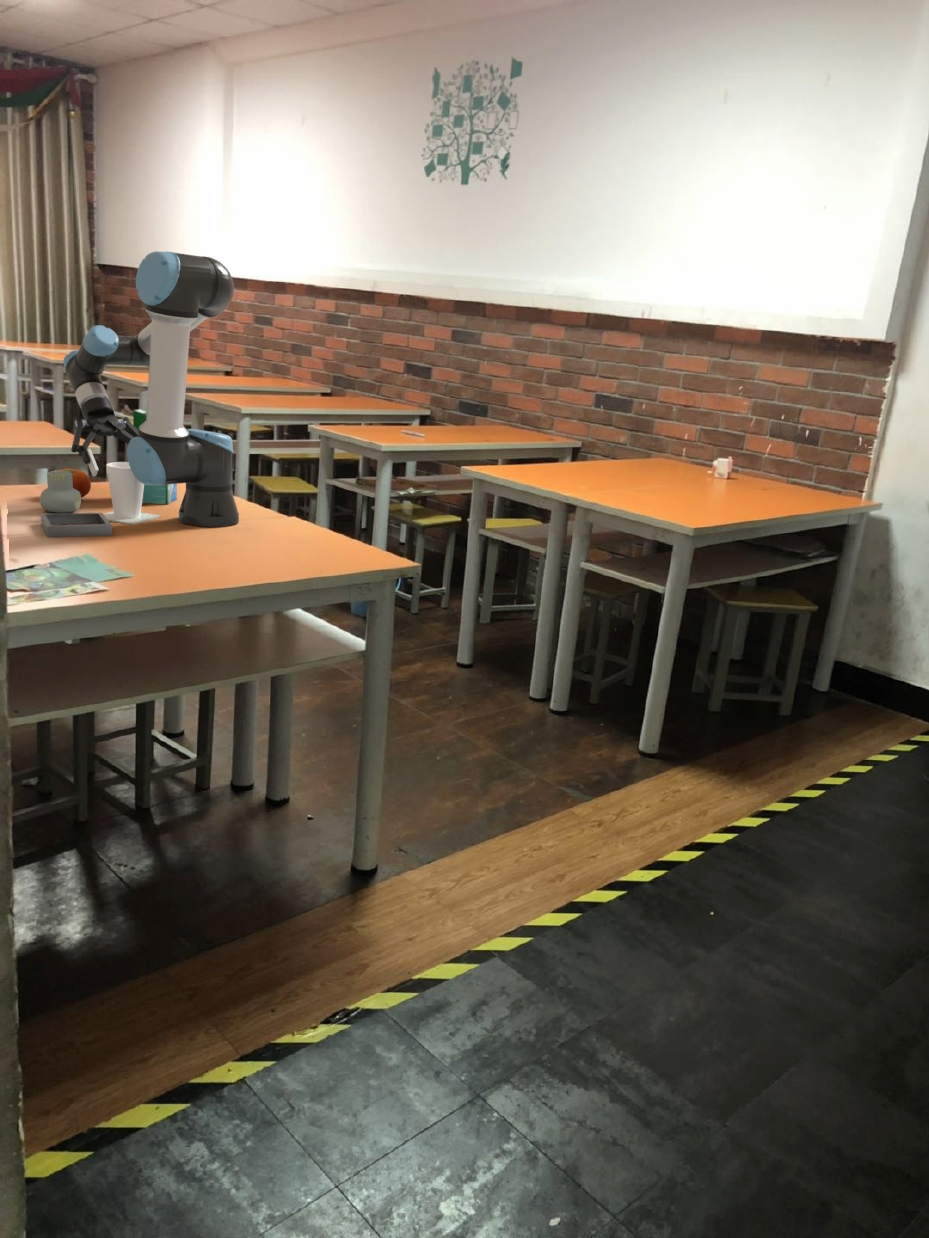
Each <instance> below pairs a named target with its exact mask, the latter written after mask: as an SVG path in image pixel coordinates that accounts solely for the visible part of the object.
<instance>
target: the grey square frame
mask: <svg viewBox="0 0 929 1238" xmlns="http://www.w3.org/2000/svg"><path fill="white" fill-rule="evenodd" d="M103 514H104V513H103V512H75V513H74V512H72V513H40V525H41V527H42V529H43V531H44V533H45V535H46V537H47V538H70V537H71V538H73V537H75V538H76V537H94V536H95V537H105V536H106V537H107V536H109V537H110V536H113V528H112V527H113V526H112V524H111V521H108V520H107V519H106V517H105V516H104V515H103Z"/></svg>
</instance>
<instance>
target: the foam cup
mask: <svg viewBox="0 0 929 1238" xmlns="http://www.w3.org/2000/svg"><path fill="white" fill-rule="evenodd" d="M106 475H107V479H108V484H109V485H108V486H109V490H110V497H111V502H112V504H111V505H112V511H114V516H115V517H118V518H128V519H129V518H138V517H140V514H141V512H142V507H143V506H142V505H143V503H142V499H143V491H144V484H143V483H141V482H140V481H138V480H137V478H136V477H135V476H134V474H133V472H132V470H131V469H130V466H129V463H128V461H115V462H108V463H106Z"/></svg>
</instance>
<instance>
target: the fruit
mask: <svg viewBox="0 0 929 1238" xmlns="http://www.w3.org/2000/svg"><path fill="white" fill-rule="evenodd" d="M57 471H68V472H71V473H72V479H73V489H75V490H77V491H79V492H80V494H81V499H82V498H84V497H86V496H87V495H88V494H89V492H90V491H91V488H92V483H91V479H90V476H89V475H88V474H87V473H86V472H84V471H83V470H80V469H75V468H63V469H57Z"/></svg>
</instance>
